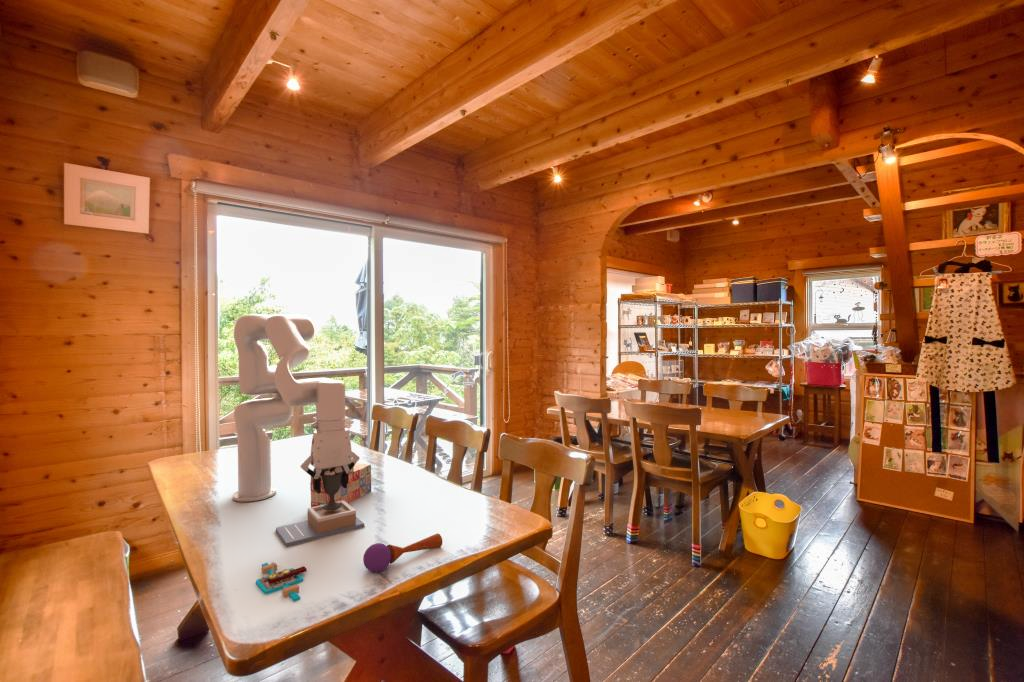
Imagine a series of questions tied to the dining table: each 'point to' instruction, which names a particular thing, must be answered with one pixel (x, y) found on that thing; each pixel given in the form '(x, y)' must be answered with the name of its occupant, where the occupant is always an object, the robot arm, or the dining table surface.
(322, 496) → the stack of blocks
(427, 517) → the dining table surface
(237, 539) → the dining table surface
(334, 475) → the sundae
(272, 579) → the gear mechanism
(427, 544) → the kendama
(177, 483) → the dining table surface
